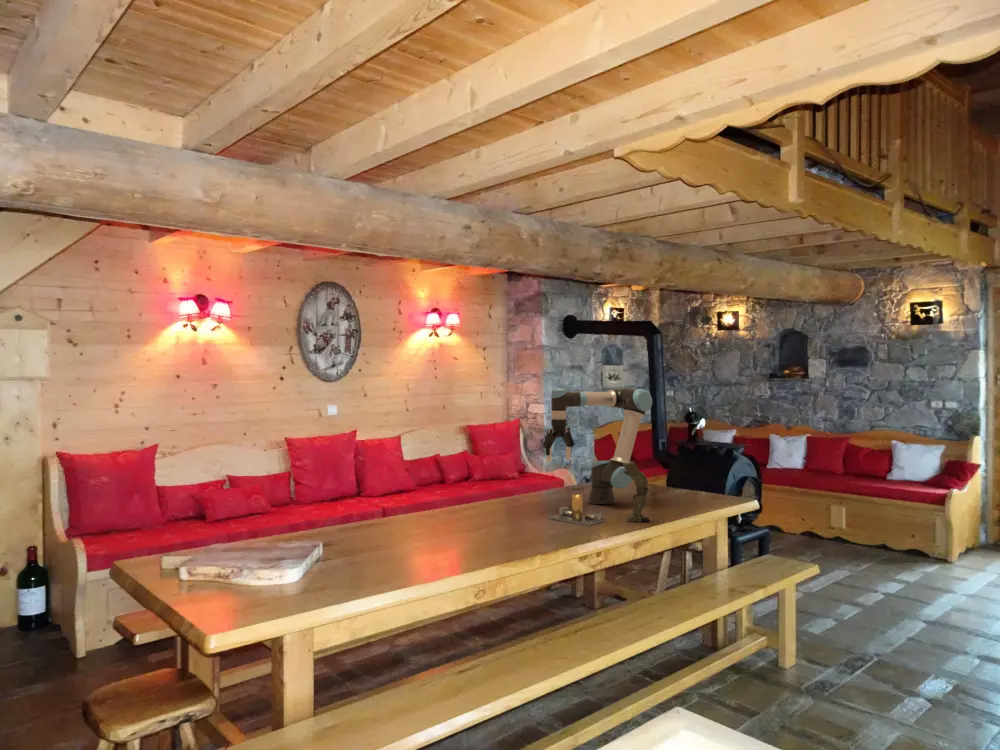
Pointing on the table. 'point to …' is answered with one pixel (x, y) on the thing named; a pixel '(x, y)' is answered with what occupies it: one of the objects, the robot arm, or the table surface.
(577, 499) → the orange glossy cylinder
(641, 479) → the mechanical leg
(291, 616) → the table surface
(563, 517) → the bed plate
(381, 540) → the table surface
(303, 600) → the table surface
